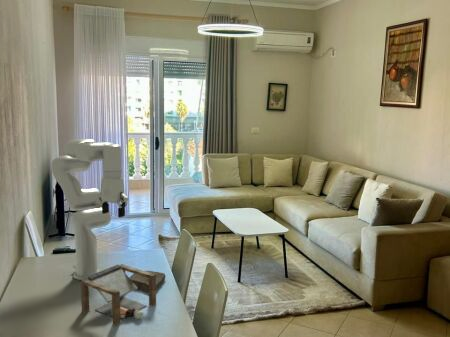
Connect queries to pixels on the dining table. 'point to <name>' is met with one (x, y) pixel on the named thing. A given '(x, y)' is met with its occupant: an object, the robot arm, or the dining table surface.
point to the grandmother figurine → (130, 313)
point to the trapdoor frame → (117, 295)
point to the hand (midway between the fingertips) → (113, 214)
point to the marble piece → (147, 281)
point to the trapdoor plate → (113, 282)
